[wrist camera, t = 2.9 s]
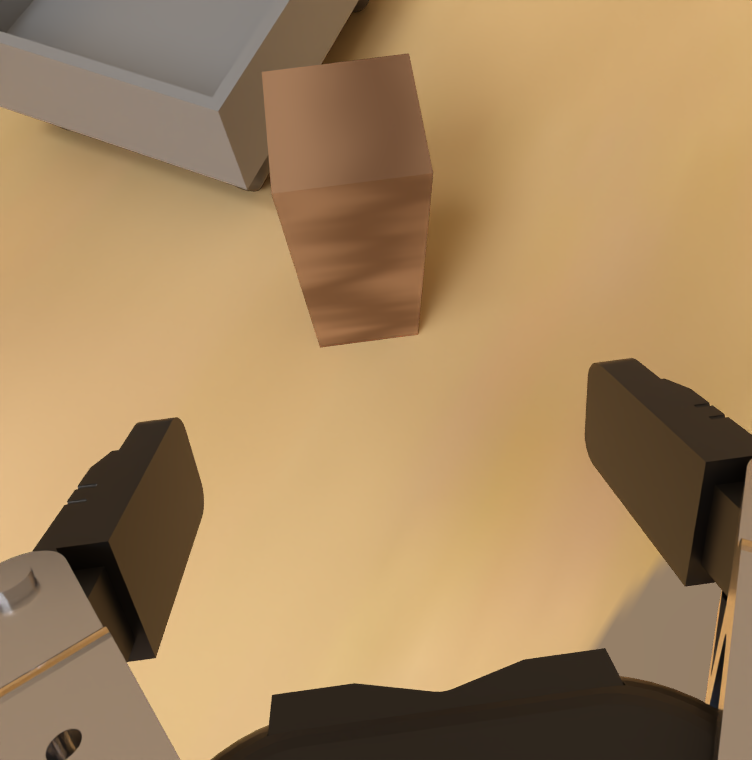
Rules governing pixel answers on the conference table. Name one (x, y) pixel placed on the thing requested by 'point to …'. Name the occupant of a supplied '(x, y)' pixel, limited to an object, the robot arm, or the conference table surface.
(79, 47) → the shallow gray tray
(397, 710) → the robot arm
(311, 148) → the walnut block
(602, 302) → the conference table surface
